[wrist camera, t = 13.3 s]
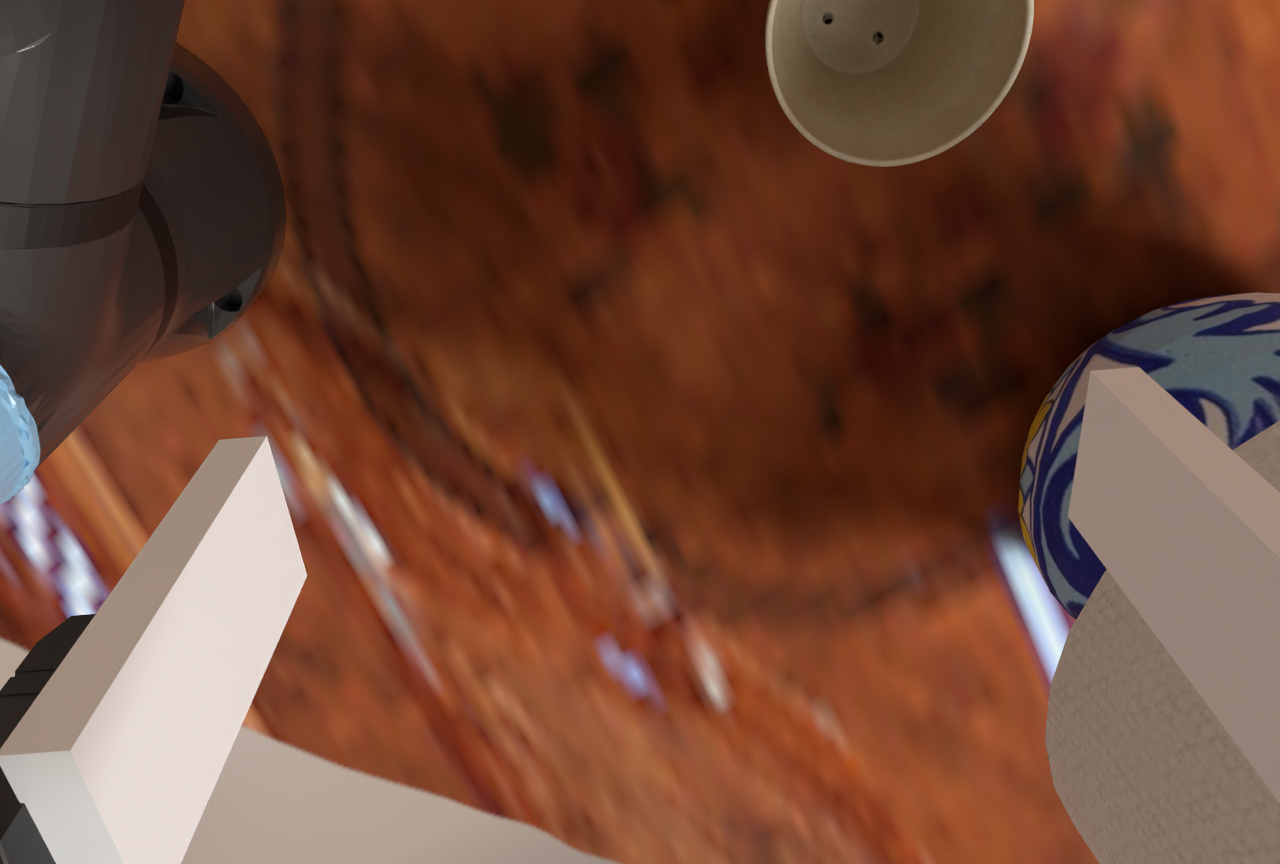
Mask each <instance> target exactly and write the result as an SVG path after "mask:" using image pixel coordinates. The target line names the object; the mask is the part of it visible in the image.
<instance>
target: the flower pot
mask: <svg viewBox="0 0 1280 864" xmlns="http://www.w3.org/2000/svg"><path fill="white" fill-rule="evenodd" d="M1033 17H1034V0H770V2H769V6H768V11H767V18H766V27H765V54H766V61H767V66H768V72H769V76H770V80H771V83H772V87H773V89H774V92H775V95H776V97H777V99H778V102H779V104H780V106H781V107H782V109H783V111H784V113H785V114H786V116H787V117H788V118H789V120H790V121H791V123H792V124H793V125H794V126H795V127H796V129H797V130H798V131H799V132H800V133H801V134H802V135H803V136H804V137H805V138H806V139H807V140H809V141H810V142H811V143H812V144H814V145H815V146H817V147H818V148H819V149H821V150H823V151H824V152H826V153H828V154H830V155H832V156H835V157H837V158H839V159H842V160H845V161H848V162H851V163H855V164H860V165H867V166H879V167H891V166H900V165H906V164H911V163H915V162H918V161H922V160H925V159H927V158H930V157H933V156H935V155H938V154H940V153H942V152H944V151H946V150H948V149H949V148H951V147H953V146H954V145H956V144H957V143H959V142H961V141H962V140H964V139H965V138H966V137H968V136H969V135H970V134H972V133H973V132H974V131H975V130H976V129H977V128H979V127H980V126H981V125H982V124H983V123H984V122H985V121H986V120H987V119H988V118H989V116H990V115H991V114H992V113H993V112H994V111H995V109H996V108H997V107H998V106H999V104H1000V103H1001V102H1002V100H1003V99H1004V97H1005V96H1006V94H1007V93H1008V91H1009V90H1010V88H1011V86H1012V84H1013V83H1014V81H1015V79H1016V77H1017V75H1018V73H1019V71H1020V68H1021V66H1022V63H1023V61H1024V58H1025V55H1026V52H1027V49H1028V45H1029V41H1030V37H1031V33H1032V26H1033ZM827 19H832V22H830V23H829V24H826V23H825V21H826V20H827ZM878 32H879V33H881V35H882V36H883V38H879V37H878V36H877V33H878Z"/></svg>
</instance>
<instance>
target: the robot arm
mask: <svg viewBox="0 0 1280 864" xmlns="http://www.w3.org/2000/svg"><path fill="white" fill-rule="evenodd" d="M184 2H185V0H0V504H2V503H4V502H6V501H8V500H9V499H10V498H11V497H12V496H14V495H16V494H17V493H18V492H20V491H21V490H22V489H23V487H24V486H25V485H26V484H28V483H29V482H30V480H31V477H32V474H33V472H34V471H35V470H36V469H37V468H38V467H39V466H40V464H41V463H42V462H43V461H44V460H45V459H46V458H47V457H48V456H49V455H50V454H51V453H52V452H53V451H54V450H55V449H56V448H57V447H58V446H59V445H60V444H61V443H62V442H63V441H64V440H65V439H66V438H67V437H68V436H69V434H70V433H71V432H72V431H73V430H74V429H75V428H76V427H77V426H78V425H79V424H80V423H81V422H82V421H83V420H84V419H85V418H86V417H87V416H88V415H89V414H90V413H91V412H92V411H93V410H94V409H95V408H96V407H97V406H98V404H99V403H100V402H101V401H102V400H103V399H104V398H105V397H106V396H107V395H108V394H109V393H110V392H111V391H112V390H113V389H114V388H115V387H116V386H117V385H118V384H119V383H120V382H121V381H122V380H123V379H124V378H125V377H126V376H127V374H128V373H129V372H130V371H131V370H132V369H133V368H134V367H135V366H136V365H137V364H139V363H143V362H147V361H151V360H155V359H159V358H164V357H168V356H172V355H176V354H179V353H183V352H186V351H188V350H191V349H194V348H196V347H198V346H200V345H203V344H204V343H206V342H208V341H210V340H212V339H213V338H215V337H217V336H218V335H220V334H221V333H223V332H224V331H226V330H227V329H228V328H229V327H230V326H232V325H233V324H234V323H235V322H236V321H237V320H238V319H239V318H240V317H241V316H242V315H243V314H244V313H245V312H246V310H247V309H248V308H249V307H250V306H251V305H252V304H253V302H254V301H255V300H256V299H257V298H258V297H259V296H260V294H261V293H262V291H263V290H264V289H265V287H266V286H267V284H268V282H269V280H270V279H271V277H272V275H273V273H274V271H275V268H276V266H277V263H278V260H279V257H280V254H281V250H282V246H283V241H284V234H285V219H286V212H285V199H284V191H283V186H282V181H281V177H280V173H279V170H278V166H277V164H276V161H275V158H274V155H273V153H272V150H271V148H270V146H269V144H268V141H267V139H266V137H265V136H264V134H263V132H262V130H261V128H260V126H259V125H258V123H257V121H256V120H255V118H254V117H253V115H252V114H251V112H250V111H249V110H248V108H247V107H246V105H245V104H244V103H243V102H242V100H241V99H240V98H239V97H238V95H237V94H236V93H235V92H234V91H233V90H232V89H231V87H230V86H229V85H228V84H227V83H226V82H225V81H224V80H223V79H222V78H221V77H220V76H219V75H218V74H217V73H215V72H214V71H213V70H212V69H211V68H210V67H208V66H207V65H206V64H205V63H204V62H202V61H201V60H200V59H198V58H197V57H196V56H194V55H193V54H191V53H190V52H188V51H187V50H185V49H184V48H182V47H181V46H179V45H177V44H176V43H175V42H176V38H177V33H178V29H179V25H180V20H181V16H182V11H183V7H184ZM1068 517H1069V519H1070V520H1071V521H1072V523H1073V524H1074V525H1075V527H1076V528H1077V530H1078V531H1079V532H1080V534H1081V535H1082V536H1083V538H1084V539H1085V540H1086V542H1087V543H1088V544H1089V546H1090V547H1091V548H1092V550H1093V551H1094V553H1095V554H1096V555H1097V557H1098V558H1099V559H1100V561H1101V562H1102V563H1103V565H1104V566H1105V567H1106V569H1107V570H1108V572H1109V573H1110V574H1111V576H1112V577H1113V578H1114V580H1115V581H1116V582H1117V584H1118V585H1119V586H1120V588H1121V589H1122V590H1123V592H1124V593H1125V595H1126V596H1127V597H1128V599H1129V600H1130V601H1131V603H1132V604H1133V605H1134V607H1135V608H1136V609H1137V611H1138V612H1139V613H1140V615H1141V616H1142V618H1143V619H1144V620H1145V622H1146V623H1147V624H1148V626H1149V627H1150V628H1151V630H1152V631H1153V632H1154V634H1155V635H1156V636H1157V638H1158V639H1159V641H1160V642H1161V643H1162V645H1163V646H1164V647H1165V649H1166V650H1167V651H1168V653H1169V654H1170V655H1171V657H1172V658H1173V659H1174V661H1175V662H1176V664H1177V665H1178V666H1179V668H1180V669H1181V670H1182V672H1183V673H1184V674H1185V676H1186V677H1187V678H1188V680H1189V681H1190V683H1191V684H1192V685H1193V687H1194V688H1195V689H1196V691H1197V692H1198V693H1199V695H1200V696H1201V697H1202V699H1203V700H1204V701H1205V703H1206V704H1207V706H1208V707H1209V708H1210V710H1211V711H1212V712H1213V714H1214V715H1215V716H1216V718H1217V719H1218V720H1219V722H1220V723H1221V724H1222V726H1223V727H1224V729H1225V730H1226V731H1227V733H1228V734H1229V735H1230V737H1231V738H1232V739H1233V741H1234V742H1235V743H1236V745H1237V746H1238V747H1239V749H1240V750H1241V752H1242V753H1243V754H1244V756H1245V757H1246V758H1247V760H1248V761H1249V762H1250V764H1251V765H1252V766H1253V768H1254V769H1255V771H1256V772H1257V773H1258V775H1259V776H1260V777H1261V779H1262V780H1263V781H1264V783H1265V784H1266V785H1267V787H1268V788H1269V789H1270V791H1271V792H1272V794H1273V795H1274V796H1275V798H1276V799H1277V800H1278V802H1279V803H1280V492H1279V491H1277V490H1276V489H1275V488H1274V487H1273V486H1272V485H1271V484H1270V483H1269V482H1267V481H1266V480H1265V479H1264V478H1263V477H1262V476H1261V475H1260V474H1258V473H1257V472H1256V471H1255V470H1254V469H1253V468H1252V467H1251V466H1249V465H1248V464H1247V463H1246V462H1245V461H1244V460H1243V459H1242V458H1240V457H1239V456H1238V455H1237V454H1236V453H1235V452H1234V451H1233V450H1231V449H1230V448H1229V447H1228V446H1227V445H1226V444H1225V443H1224V442H1223V441H1221V440H1220V439H1219V438H1218V437H1217V436H1216V435H1215V434H1214V433H1212V432H1211V431H1210V430H1209V429H1208V428H1207V427H1206V426H1205V425H1203V424H1202V423H1201V422H1200V421H1199V420H1198V419H1197V418H1196V417H1194V416H1193V415H1192V414H1191V413H1190V412H1189V411H1188V410H1187V409H1186V408H1184V407H1183V406H1182V405H1181V404H1180V403H1179V402H1178V401H1177V400H1175V399H1174V398H1173V397H1172V396H1171V395H1170V394H1169V393H1168V392H1166V391H1165V390H1164V389H1163V388H1162V387H1161V386H1160V385H1159V384H1157V383H1156V382H1155V381H1154V380H1153V379H1152V378H1151V377H1150V376H1149V375H1147V374H1146V373H1145V372H1144V371H1143V370H1142V369H1141V368H1140V367H1132V368H1119V369H1107V370H1094V371H1090V377H1089V383H1088V390H1087V396H1086V403H1085V409H1084V416H1083V422H1082V428H1081V435H1080V441H1079V448H1078V454H1077V461H1076V467H1075V473H1074V480H1073V486H1072V493H1071V499H1070V506H1069V512H1068ZM306 577H307V574H306V570H305V567H304V563H303V560H302V556H301V553H300V549H299V546H298V542H297V539H296V535H295V532H294V528H293V525H292V522H291V518H290V515H289V511H288V508H287V504H286V501H285V497H284V494H283V490H282V487H281V483H280V480H279V476H278V473H277V469H276V466H275V462H274V459H273V456H272V452H271V449H270V445H269V442H268V438H267V436H262V437H250V438H237V439H224V440H219V441H218V442H217V444H216V445H215V447H214V448H213V449H212V451H211V452H210V454H209V455H208V457H207V458H206V459H205V461H204V462H203V464H202V465H201V466H200V468H199V469H198V471H197V472H196V473H195V475H194V476H193V478H192V479H191V481H190V482H189V483H188V485H187V486H186V488H185V489H184V490H183V492H182V493H181V495H180V496H179V497H178V499H177V500H176V502H175V503H174V504H173V506H172V507H171V509H170V510H169V512H168V513H167V514H166V516H165V517H164V519H163V520H162V521H161V523H160V524H159V526H158V527H157V528H156V530H155V531H154V533H153V534H152V536H151V537H150V538H149V540H148V541H147V543H146V544H145V545H144V547H143V548H142V550H141V551H140V552H139V554H138V555H137V557H136V558H135V560H134V561H133V562H132V564H131V565H130V567H129V568H128V569H127V571H126V572H125V574H124V575H123V576H122V578H121V579H120V581H119V582H118V584H117V585H116V586H115V588H114V589H113V591H112V592H111V593H110V595H109V596H108V598H107V599H106V600H105V602H104V603H103V605H102V606H101V608H100V609H99V610H98V612H97V613H96V614H90V615H77V616H71V617H70V618H68V619H67V620H66V621H64V622H63V623H62V624H60V625H59V626H58V627H57V628H55V629H54V630H53V631H51V632H50V633H49V634H47V635H46V636H45V637H44V638H42V639H41V640H40V641H38V642H37V643H36V644H35V646H34V647H33V648H32V650H31V651H30V652H29V654H28V655H27V656H26V658H25V659H24V660H23V662H22V663H21V664H20V666H19V667H18V668H17V670H16V671H15V677H11V678H10V679H9V680H8V681H7V683H6V684H5V685H4V687H3V688H2V689H1V691H0V864H181V862H182V859H183V857H184V855H185V853H186V850H187V848H188V846H189V844H190V841H191V839H192V837H193V834H194V832H195V830H196V828H197V825H198V823H199V821H200V819H201V816H202V814H203V812H204V809H205V807H206V805H207V803H208V800H209V798H210V796H211V793H212V791H213V789H214V787H215V784H216V782H217V780H218V778H219V775H220V773H221V771H222V768H223V766H224V764H225V761H226V759H227V757H228V755H229V752H230V750H231V748H232V746H233V743H234V741H235V739H236V737H237V734H238V732H239V730H240V727H241V725H242V723H243V721H244V718H245V716H246V714H247V711H248V709H249V707H250V705H251V702H252V700H253V698H254V696H255V693H256V691H257V689H258V686H259V684H260V682H261V680H262V677H263V675H264V673H265V670H266V668H267V666H268V664H269V661H270V659H271V657H272V655H273V652H274V650H275V648H276V645H277V643H278V641H279V639H280V636H281V634H282V632H283V629H284V627H285V625H286V623H287V620H288V618H289V616H290V614H291V611H292V609H293V607H294V604H295V602H296V600H297V598H298V595H299V593H300V591H301V588H302V586H303V584H304V582H305V579H306Z"/></svg>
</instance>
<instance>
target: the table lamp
mask: <svg viewBox="0 0 1280 864" xmlns="http://www.w3.org/2000/svg"><path fill="white" fill-rule="evenodd" d="M1132 367H1140V368H1141V369H1142V370H1143V371H1144V372H1145V373H1146V374H1147V375H1149V376H1150V377H1151V378H1152V379H1153V380H1154V381H1155V382H1156V383H1157V384H1159V385H1160V386H1161V387H1162V388H1163V389H1164V390H1165V391H1166V392H1168V393H1169V394H1170V395H1171V396H1172V397H1173V398H1174V399H1175V400H1177V401H1178V402H1179V403H1180V404H1181V405H1182V406H1183V407H1184V408H1186V409H1187V410H1188V411H1189V412H1190V413H1191V414H1192V415H1193V416H1194V417H1196V418H1197V419H1198V420H1199V421H1200V422H1201V423H1202V424H1203V425H1205V426H1206V427H1207V428H1208V429H1209V430H1210V431H1211V432H1212V433H1214V434H1215V435H1216V436H1217V437H1218V438H1219V439H1220V440H1221V441H1223V442H1224V443H1225V444H1226V445H1227V446H1228V447H1229V448H1230V449H1231V450H1233V451H1234V452H1235V453H1236V454H1237V455H1238V456H1239V457H1240V458H1242V459H1243V460H1244V461H1245V462H1246V463H1247V464H1248V465H1249V466H1251V467H1252V468H1253V469H1254V470H1255V471H1256V472H1257V473H1258V474H1260V475H1261V476H1262V477H1263V478H1264V479H1265V480H1266V481H1267V482H1269V483H1270V484H1271V485H1272V486H1273V487H1274V488H1275V489H1276V490H1277V491H1279V492H1280V294H1275V293H1244V294H1230V295H1219V296H1212V297H1204V298H1196V299H1189V300H1185V301H1182V302H1179V303H1176V304H1172V305H1169V306H1166V307H1162V308H1159V309H1156V310H1153V311H1151V312H1149V313H1147V314H1145V315H1143V316H1141V317H1139V318H1137V319H1135V320H1133V321H1131V322H1129V323H1127V324H1124V325H1122V326H1120V327H1118V328H1117V329H1115V330H1113V331H1111V332H1110V333H1108V334H1107V335H1105V336H1104V337H1102V338H1101V339H1100V340H1098V341H1097V342H1095V343H1094V344H1092V345H1091V346H1089V347H1088V348H1087V349H1086V350H1085V351H1084V352H1083V353H1082V354H1081V355H1080V356H1079V357H1078V358H1077V359H1076V360H1074V361H1073V362H1072V363H1071V364H1070V365H1069V366H1068V368H1067V369H1066V370H1065V371H1064V373H1063V374H1062V375H1061V377H1060V378H1059V379H1058V381H1057V382H1056V383H1055V385H1054V386H1053V387H1052V389H1051V390H1050V392H1049V393H1048V395H1047V396H1046V398H1045V399H1044V401H1043V403H1042V405H1041V407H1040V409H1039V411H1038V413H1037V415H1036V417H1035V419H1034V421H1033V423H1032V425H1031V427H1030V431H1029V434H1028V438H1027V441H1026V445H1025V448H1024V452H1023V457H1022V466H1021V476H1020V490H1019V506H1018V511H1019V516H1020V522H1021V527H1022V533H1023V538H1024V540H1025V542H1026V544H1027V547H1028V549H1029V551H1030V553H1031V555H1032V557H1033V559H1034V561H1035V563H1036V565H1037V567H1038V569H1039V571H1040V573H1041V575H1042V577H1043V579H1044V581H1045V582H1046V584H1047V586H1048V588H1049V590H1050V592H1051V593H1052V594H1053V596H1054V597H1055V598H1056V599H1057V600H1058V602H1059V603H1060V604H1061V605H1062V606H1063V607H1064V609H1065V610H1066V611H1067V612H1068V613H1069V614H1070V615H1071V616H1072V617H1073V618H1075V619H1076V621H1075V623H1074V624H1073V626H1072V628H1071V629H1070V631H1069V634H1068V637H1067V640H1066V642H1065V645H1064V648H1063V651H1062V654H1061V657H1060V660H1059V663H1058V666H1057V669H1056V672H1055V675H1054V677H1053V680H1052V683H1051V686H1050V691H1049V703H1048V714H1047V726H1046V737H1045V742H1046V748H1047V753H1048V758H1049V763H1050V768H1051V773H1052V778H1053V783H1054V788H1055V790H1056V792H1057V793H1058V795H1059V797H1060V799H1061V801H1062V803H1063V805H1064V807H1065V808H1066V810H1067V812H1068V814H1069V816H1070V818H1071V820H1072V822H1073V823H1074V825H1075V827H1076V829H1077V830H1078V832H1079V833H1080V835H1081V836H1082V838H1083V839H1084V841H1085V842H1086V844H1087V845H1088V847H1089V848H1090V850H1091V851H1092V853H1093V854H1094V856H1095V857H1096V859H1097V860H1098V862H1099V863H1100V864H1280V803H1279V802H1278V800H1277V799H1276V798H1275V796H1274V795H1273V794H1272V792H1271V791H1270V789H1269V788H1268V787H1267V785H1266V784H1265V783H1264V781H1263V780H1262V779H1261V777H1260V776H1259V775H1258V773H1257V772H1256V771H1255V769H1254V768H1253V766H1252V765H1251V764H1250V762H1249V761H1248V760H1247V758H1246V757H1245V756H1244V754H1243V753H1242V752H1241V750H1240V749H1239V747H1238V746H1237V745H1236V743H1235V742H1234V741H1233V739H1232V738H1231V737H1230V735H1229V734H1228V733H1227V731H1226V730H1225V729H1224V727H1223V726H1222V724H1221V723H1220V722H1219V720H1218V719H1217V718H1216V716H1215V715H1214V714H1213V712H1212V711H1211V710H1210V708H1209V707H1208V706H1207V704H1206V703H1205V701H1204V700H1203V699H1202V697H1201V696H1200V695H1199V693H1198V692H1197V691H1196V689H1195V688H1194V687H1193V685H1192V684H1191V683H1190V681H1189V680H1188V678H1187V677H1186V676H1185V674H1184V673H1183V672H1182V670H1181V669H1180V668H1179V666H1178V665H1177V664H1176V662H1175V661H1174V659H1173V658H1172V657H1171V655H1170V654H1169V653H1168V651H1167V650H1166V649H1165V647H1164V646H1163V645H1162V643H1161V642H1160V641H1159V639H1158V638H1157V636H1156V635H1155V634H1154V632H1153V631H1152V630H1151V628H1150V627H1149V626H1148V624H1147V623H1146V622H1145V620H1144V619H1143V618H1142V616H1141V615H1140V613H1139V612H1138V611H1137V609H1136V608H1135V607H1134V605H1133V604H1132V603H1131V601H1130V600H1129V599H1128V597H1127V596H1126V595H1125V593H1124V592H1123V590H1122V589H1121V588H1120V586H1119V585H1118V584H1117V582H1116V581H1115V580H1114V578H1113V577H1112V576H1111V574H1110V573H1109V572H1108V570H1107V569H1106V567H1105V566H1104V565H1103V563H1102V562H1101V561H1100V559H1099V558H1098V557H1097V555H1096V554H1095V553H1094V551H1093V550H1092V548H1091V547H1090V546H1089V544H1088V543H1087V542H1086V540H1085V539H1084V538H1083V536H1082V535H1081V534H1080V532H1079V531H1078V530H1077V528H1076V527H1075V525H1074V524H1073V523H1072V521H1071V520H1070V519H1069V517H1068V512H1069V506H1070V499H1071V493H1072V486H1073V480H1074V473H1075V467H1076V461H1077V454H1078V448H1079V441H1080V435H1081V428H1082V422H1083V416H1084V409H1085V403H1086V396H1087V390H1088V383H1089V377H1090V371H1094V370H1107V369H1119V368H1132Z"/></svg>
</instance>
